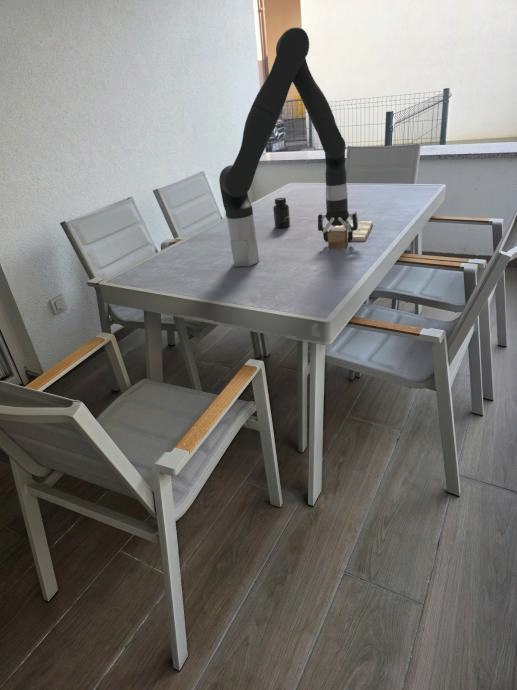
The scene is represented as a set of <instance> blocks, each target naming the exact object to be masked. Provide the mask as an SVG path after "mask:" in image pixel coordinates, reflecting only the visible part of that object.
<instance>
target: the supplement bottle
mask: <svg viewBox="0 0 517 690" xmlns="http://www.w3.org/2000/svg"><path fill="white" fill-rule="evenodd" d="M272 211H273V222H274V223H273V224H274V227H275V229H285V228H289V227H290V226H291V221H290V218H291V217H290V206H289V205H288V204H287V199H286V197H277V198H275V199H274V206H273V207H272Z"/></svg>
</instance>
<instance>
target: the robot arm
mask: <svg viewBox="0 0 517 690" xmlns="http://www.w3.org/2000/svg"><path fill="white" fill-rule="evenodd" d="M309 49H310V39H309V35H308V34H307V31H305V29H303V28H302V27H300V26H294V27H291V28H290V27H289V28H288V29H286V30H285V31H284V32H283V34H281V35H280V37H279V39H278V40H277V43H276V47H275V54H276V55H275V58H274V62H273V64H272V65H271V70H269V71H270V72H269V74H268V76H266V77H267V78H266V79H265V80H264V82H263V84H262V86H261V87H260V89H259V91H258V93H257V95H256V97H255V98H254V101H253V103H252V105H251V107H250V109H249V112H248V114H247V117H246V120H245V123H244V128H243V132H242V139H241V140H242V141H241V145H240V148H239V150H238V154H237V156H236V158H235V160H234V162H233V164H231V165H226V166H225V167H224V168H223V169H222V170H221V172H220V174H219V178H218V179H219V188H220V195H221V200H222V205H223V208H224V212H225V214H226V220H227V227H228V233H229V240H230V247H231V253H232V254H231V255H232V260H233V266H234V267H243V268H245V267H248V268H249V267H251V266H253V265H256V264H258V263H259V262H260V257H259V250H258V243H257V234H256V226H255V218H254V217H255V216H254V211H253V206H252V205H253V204H252V203H251V201H250V199H249V198H250V197H249V194H248V192H249V191H250V189H251V188H252V184H253V181H254V179H255V178H254V177H255V175H256V172H257V169H258V166H259V163H260V160H261V158H262V155H263V154H264V152H265V149H266V148H267V145H268V143H269V140H270V138H271V137H272V134H273V132H274V131H275V128H276V126H277V123H278V121H279V118H280V116H281V113H282V110H283V108H284V105H285V102H286V100H287V97H288V94H289V93H290V89H291V86H292V85H294V87H295V89H296V91H297V93H298V95H299V97H300V99H301V102H302V103H303V105H304V108H305V110H306V112H307V114H308V117H309V119H310V122H311V124H312V125H313V128H314V129H315V131H316V134H317V136H318V139H319V141H320V144H321V147H322V149H323V153H324V158H325V203H326V204H325V205H326V213H322V212H320V213H319V214H318V215H317V231H319V232H322V234H323V240H324V242H325V243H328V232H329V230H328V229H329V228H331V227H330V226H332V227H335V226H342V225H343V226H344V227H345V228H346V229H347V230H348V231H349V232H348V243H350V242H352V241H351V240H352V239H353V231H354V230H357V228H358V221H359V220H358V213H357V212H356V211H354V212H349V210H348V209H349V208H348V207H349V206H348V205H349V204H348V203H349V202H348V200H349V199H348V195H349V194H348V185H347V169H346V141H345V139H344V138H343V136H342V134H341V131H340V130H339V127H338V125H337V123H336V119H335V116H334V114H333V110H332V109H331V106H330V104H329V101H328V99H327V98H326V96H325V94H324V92H323V91H322V90H321V88H320V86H319V85H318V83H317V82H316V81H315V79H314V77H313V75H312V73H311V71H310V68H309V66H308V61H307V59H306V58H307V56H308V54H309ZM348 218H350V220H352V222H353V227H352V226H351V225H350V223H349V222H350V221H349V220H348ZM325 219H326V220H327V223H326V225H325V226H323V225H324V223H323V222H324V220H325Z"/></svg>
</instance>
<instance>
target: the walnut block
mask: <svg viewBox="0 0 517 690" xmlns="http://www.w3.org/2000/svg"><path fill="white" fill-rule="evenodd" d="M327 243H328V244H327V246H328V249H346V247H347V245H348V243H349V242H348V230H347V229H346V228H345V227H337V228H335V227H330V229H329V230H328V242H327Z"/></svg>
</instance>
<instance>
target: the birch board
mask: <svg viewBox="0 0 517 690" xmlns="http://www.w3.org/2000/svg"><path fill="white" fill-rule="evenodd" d="M357 221H358V228H357V230H354V231H353V239H352V240H351V241H350V242H365V241H366V240H367V238H368V236H369V233H370V231H371V229H372V227H373V224H374V221H373V220H365V221H363V220H362V221H359V220H357ZM348 222H349V223H350V225H351V226H352V227H353V221H348ZM337 227H344V226H343V225H342V226H334V228H337ZM348 232H349V231H348Z"/></svg>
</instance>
